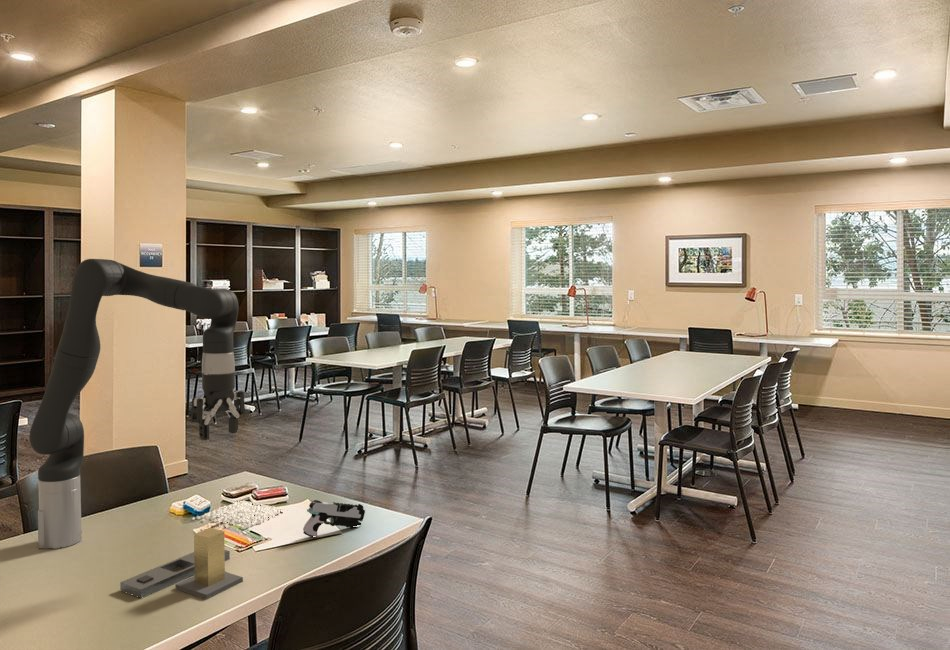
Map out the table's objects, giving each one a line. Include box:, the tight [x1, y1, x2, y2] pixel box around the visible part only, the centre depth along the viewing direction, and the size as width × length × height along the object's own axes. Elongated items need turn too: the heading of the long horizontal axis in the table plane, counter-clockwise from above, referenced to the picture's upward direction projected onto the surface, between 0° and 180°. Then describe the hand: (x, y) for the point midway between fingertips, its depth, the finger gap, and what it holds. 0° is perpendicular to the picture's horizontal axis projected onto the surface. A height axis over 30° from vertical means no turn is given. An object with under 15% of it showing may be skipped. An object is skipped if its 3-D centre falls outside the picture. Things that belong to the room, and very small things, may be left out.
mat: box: [174, 571, 244, 600], centre depth 152 cm, size 10×10×1 cm
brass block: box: [193, 527, 226, 587], centre depth 152 cm, size 4×4×11 cm
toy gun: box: [302, 499, 366, 538], centre depth 185 cm, size 2×17×10 cm, turn 128°
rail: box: [119, 549, 231, 599], centre depth 158 cm, size 24×7×2 cm, turn 152°
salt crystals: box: [191, 499, 283, 530], centre depth 197 cm, size 20×20×2 cm
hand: (219, 436), depth 167 cm, fingers open, 8 cm apart
